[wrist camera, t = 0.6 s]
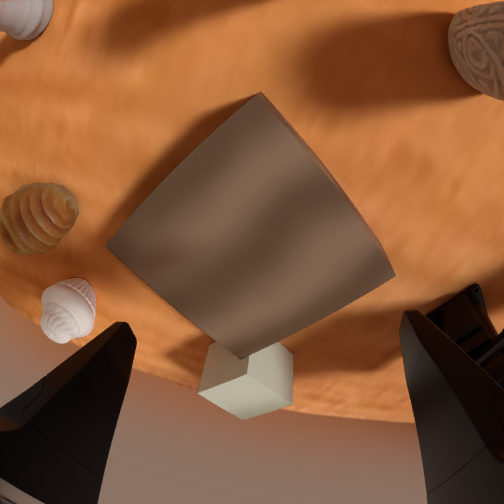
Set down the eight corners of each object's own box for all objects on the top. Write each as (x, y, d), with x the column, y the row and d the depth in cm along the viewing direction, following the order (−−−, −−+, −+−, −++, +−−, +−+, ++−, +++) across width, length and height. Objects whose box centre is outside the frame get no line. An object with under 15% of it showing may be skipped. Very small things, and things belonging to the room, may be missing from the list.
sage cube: (293, 353, 30) (292, 404, 24) (249, 373, 32) (242, 419, 27) (254, 320, 27) (247, 373, 22) (209, 344, 30) (197, 393, 25)
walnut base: (381, 244, 22) (395, 275, 19) (245, 325, 28) (240, 359, 24) (261, 92, 17) (255, 95, 14) (128, 219, 23) (104, 245, 20)
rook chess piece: (64, 10, 14) (-12, 6, 7) (31, 50, 15) (-43, 61, 9) (45, -17, 12) (-25, -24, 5) (14, 22, 13) (-54, 27, 7)
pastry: (62, 159, 21) (33, 176, 18) (95, 228, 24) (72, 252, 21) (8, 195, 23) (-16, 212, 20) (37, 250, 26) (16, 271, 23)
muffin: (106, 320, 30) (79, 369, 24) (61, 297, 29) (29, 341, 23) (110, 279, 27) (75, 331, 21) (59, 255, 26) (19, 300, 20)
